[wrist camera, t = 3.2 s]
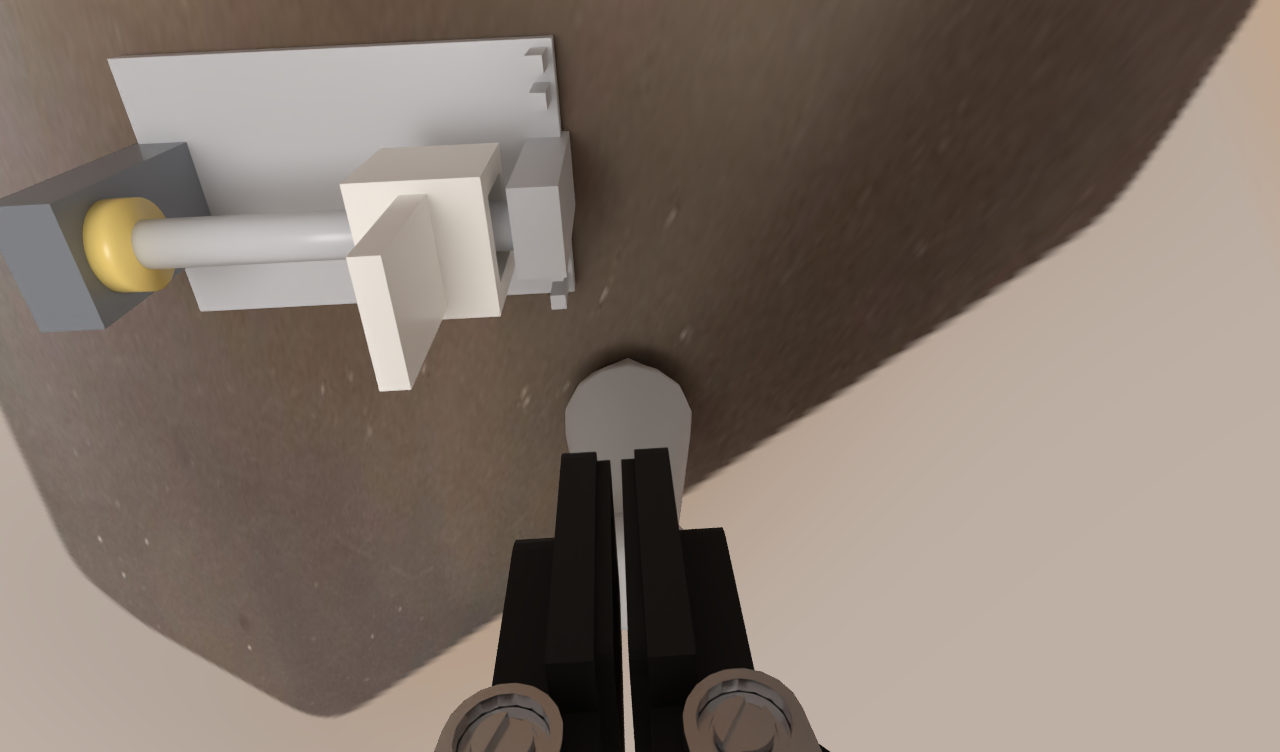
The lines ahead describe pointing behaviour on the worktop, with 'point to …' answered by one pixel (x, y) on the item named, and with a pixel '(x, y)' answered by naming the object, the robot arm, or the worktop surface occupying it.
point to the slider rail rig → (285, 174)
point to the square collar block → (423, 248)
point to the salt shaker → (629, 430)
